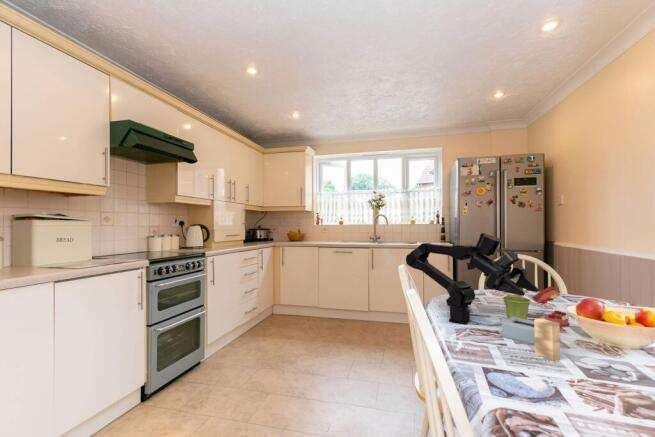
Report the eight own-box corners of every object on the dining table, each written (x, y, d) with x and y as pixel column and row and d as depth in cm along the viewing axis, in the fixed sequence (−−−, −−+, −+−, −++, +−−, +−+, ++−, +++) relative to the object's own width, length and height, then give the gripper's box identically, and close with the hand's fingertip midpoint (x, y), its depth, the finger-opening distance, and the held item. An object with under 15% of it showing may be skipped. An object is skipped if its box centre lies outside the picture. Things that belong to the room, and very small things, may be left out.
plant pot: (536, 326, 112) (535, 302, 112) (508, 324, 113) (507, 301, 114) (525, 318, 121) (524, 296, 121) (499, 317, 123) (498, 295, 123)
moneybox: (501, 336, 101) (501, 321, 101) (512, 330, 107) (512, 316, 107) (540, 346, 92) (540, 330, 93) (550, 339, 98) (549, 324, 98)
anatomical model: (571, 328, 107) (551, 286, 111) (546, 331, 112) (528, 291, 117) (577, 322, 113) (558, 283, 118) (554, 325, 119) (536, 288, 124)
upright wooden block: (535, 354, 87) (534, 319, 88) (542, 352, 88) (541, 318, 89) (552, 361, 83) (552, 324, 83) (560, 359, 84) (559, 323, 84)
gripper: (482, 247, 100) (529, 274, 88) (511, 245, 110) (556, 269, 99) (469, 275, 104) (512, 304, 92) (497, 271, 114) (540, 296, 102)
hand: (531, 292), depth 96 cm, fingers open, 9 cm apart
